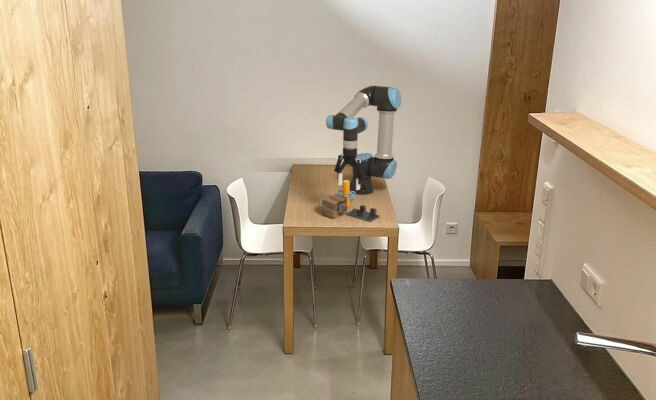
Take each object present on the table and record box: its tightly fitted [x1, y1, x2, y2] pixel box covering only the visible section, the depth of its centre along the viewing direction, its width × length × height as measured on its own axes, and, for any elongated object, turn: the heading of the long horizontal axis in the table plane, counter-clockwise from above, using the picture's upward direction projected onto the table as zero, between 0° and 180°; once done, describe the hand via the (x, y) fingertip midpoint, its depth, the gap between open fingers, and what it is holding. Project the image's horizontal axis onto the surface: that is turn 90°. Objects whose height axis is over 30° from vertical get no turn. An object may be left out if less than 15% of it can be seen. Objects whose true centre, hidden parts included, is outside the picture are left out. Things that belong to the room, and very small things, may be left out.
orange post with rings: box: [336, 179, 357, 208], centre depth 350 cm, size 12×10×15 cm
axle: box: [319, 197, 346, 213], centre depth 339 cm, size 4×15×4 cm, turn 52°
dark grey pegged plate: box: [345, 204, 380, 223], centre depth 337 cm, size 9×16×4 cm, turn 51°
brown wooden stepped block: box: [321, 193, 348, 220], centre depth 338 cm, size 12×8×9 cm, turn 141°
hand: (349, 187), depth 328 cm, fingers open, 11 cm apart
